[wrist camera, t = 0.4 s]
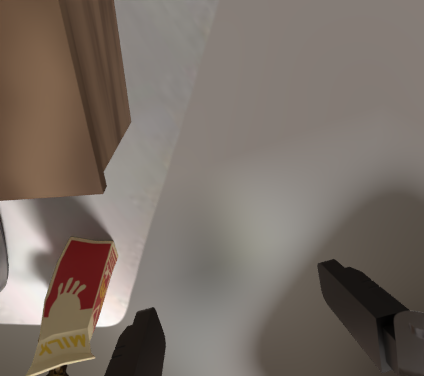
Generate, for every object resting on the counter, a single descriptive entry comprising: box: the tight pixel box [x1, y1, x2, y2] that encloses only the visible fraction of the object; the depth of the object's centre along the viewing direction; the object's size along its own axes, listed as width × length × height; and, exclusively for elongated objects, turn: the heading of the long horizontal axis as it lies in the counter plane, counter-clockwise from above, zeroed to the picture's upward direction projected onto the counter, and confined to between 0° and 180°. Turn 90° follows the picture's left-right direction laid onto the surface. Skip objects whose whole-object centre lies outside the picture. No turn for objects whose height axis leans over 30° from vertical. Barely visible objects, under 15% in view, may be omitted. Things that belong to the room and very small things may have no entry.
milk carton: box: [26, 237, 118, 376], centre depth 37 cm, size 9×9×20 cm
